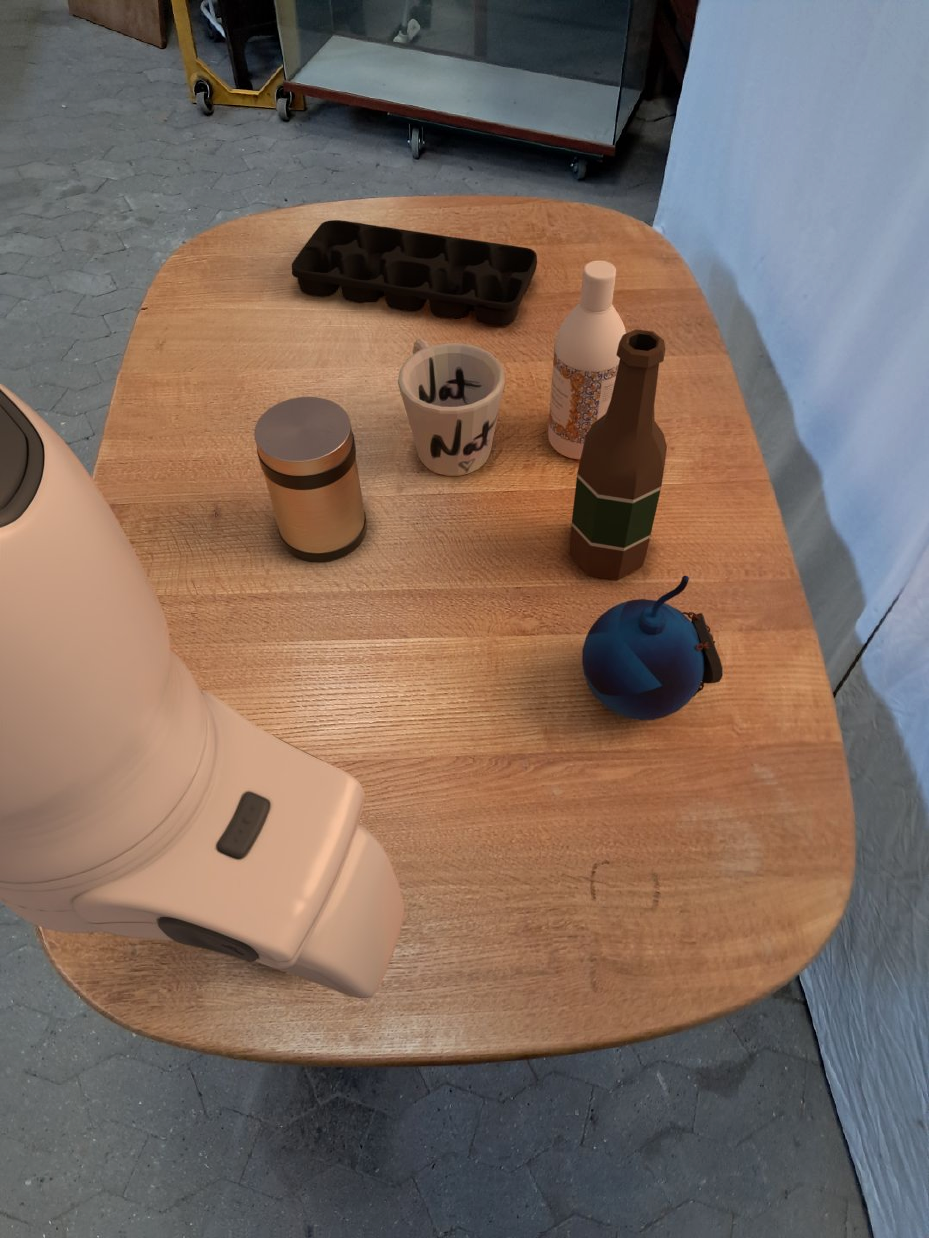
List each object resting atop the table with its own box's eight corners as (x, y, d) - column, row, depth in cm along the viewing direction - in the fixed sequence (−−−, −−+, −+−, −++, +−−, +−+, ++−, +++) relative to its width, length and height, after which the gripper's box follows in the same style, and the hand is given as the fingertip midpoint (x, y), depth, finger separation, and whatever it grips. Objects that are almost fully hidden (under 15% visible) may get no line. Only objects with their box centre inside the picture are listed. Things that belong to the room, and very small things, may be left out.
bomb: (720, 731, 75) (766, 624, 63) (592, 750, 74) (613, 644, 62) (685, 636, 81) (721, 521, 69) (566, 652, 80) (581, 539, 68)
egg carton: (310, 243, 120) (305, 216, 117) (537, 250, 118) (539, 222, 115) (284, 324, 109) (278, 296, 106) (533, 332, 108) (535, 305, 105)
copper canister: (294, 573, 86) (268, 474, 76) (269, 513, 91) (241, 411, 80) (379, 545, 88) (365, 445, 77) (350, 487, 93) (333, 385, 82)
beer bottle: (593, 510, 90) (623, 297, 71) (662, 544, 87) (713, 332, 68) (551, 559, 87) (570, 348, 67) (622, 596, 84) (664, 387, 64)
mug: (427, 499, 91) (422, 423, 83) (375, 410, 100) (365, 333, 92) (520, 468, 94) (524, 391, 86) (462, 384, 102) (460, 307, 94)
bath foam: (536, 429, 97) (546, 259, 81) (592, 410, 99) (613, 240, 83) (567, 470, 94) (584, 300, 78) (625, 449, 95) (654, 279, 79)
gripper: (-215, 782, 31) (-33, 916, 42) (331, 976, 27) (375, 1068, 38) (-93, 639, 35) (45, 798, 46) (406, 792, 31) (426, 925, 42)
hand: (198, 922), depth 42 cm, fingers open, 8 cm apart
